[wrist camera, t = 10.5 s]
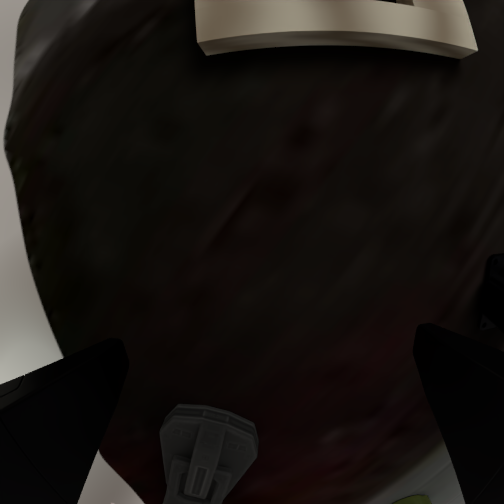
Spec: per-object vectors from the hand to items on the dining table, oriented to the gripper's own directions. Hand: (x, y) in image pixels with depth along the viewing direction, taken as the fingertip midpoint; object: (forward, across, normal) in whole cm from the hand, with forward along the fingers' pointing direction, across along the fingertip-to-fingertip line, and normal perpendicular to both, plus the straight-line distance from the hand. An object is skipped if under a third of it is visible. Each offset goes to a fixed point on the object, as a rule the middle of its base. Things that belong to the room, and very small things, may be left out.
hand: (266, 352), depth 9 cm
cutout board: (+12, -6, -20) cm, 24 cm away
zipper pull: (+12, +10, +26) cm, 30 cm away
